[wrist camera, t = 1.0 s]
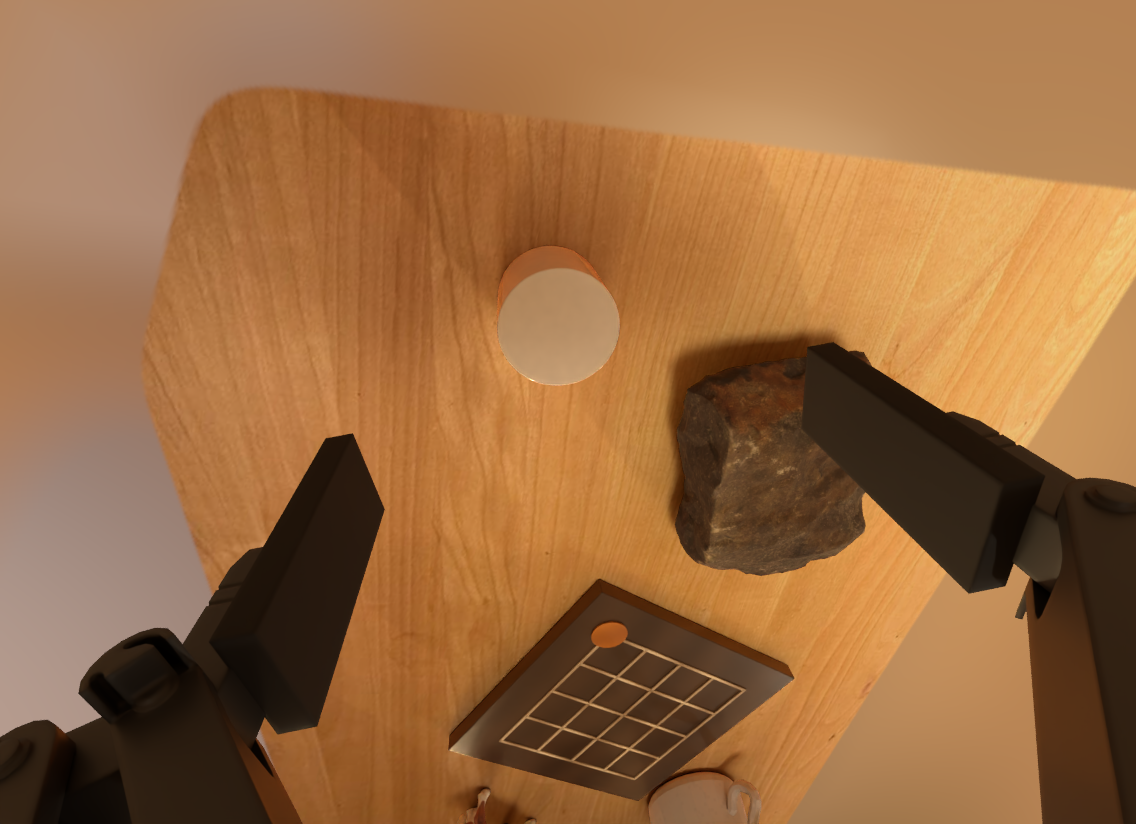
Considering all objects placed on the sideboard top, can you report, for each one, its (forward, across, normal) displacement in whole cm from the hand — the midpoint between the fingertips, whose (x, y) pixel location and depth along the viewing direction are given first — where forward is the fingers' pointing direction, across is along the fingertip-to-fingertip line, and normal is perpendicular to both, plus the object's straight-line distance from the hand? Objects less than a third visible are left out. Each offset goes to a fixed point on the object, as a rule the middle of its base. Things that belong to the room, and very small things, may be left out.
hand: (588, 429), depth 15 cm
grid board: (+13, 0, -34) cm, 36 cm away
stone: (+13, +10, -11) cm, 20 cm away
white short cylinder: (+12, 0, 0) cm, 12 cm away
